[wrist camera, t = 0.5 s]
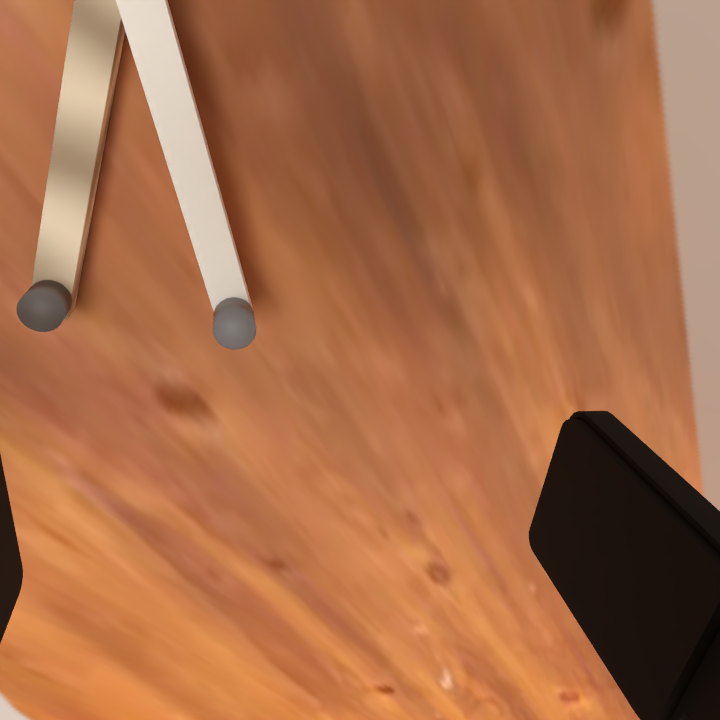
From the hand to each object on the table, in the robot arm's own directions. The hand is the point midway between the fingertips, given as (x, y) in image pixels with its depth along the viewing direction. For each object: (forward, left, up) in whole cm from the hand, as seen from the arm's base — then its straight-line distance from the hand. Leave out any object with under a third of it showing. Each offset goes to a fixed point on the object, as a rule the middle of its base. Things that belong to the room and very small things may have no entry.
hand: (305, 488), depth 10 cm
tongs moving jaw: (-2, -3, -25) cm, 25 cm away
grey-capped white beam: (-3, -8, -27) cm, 28 cm away
